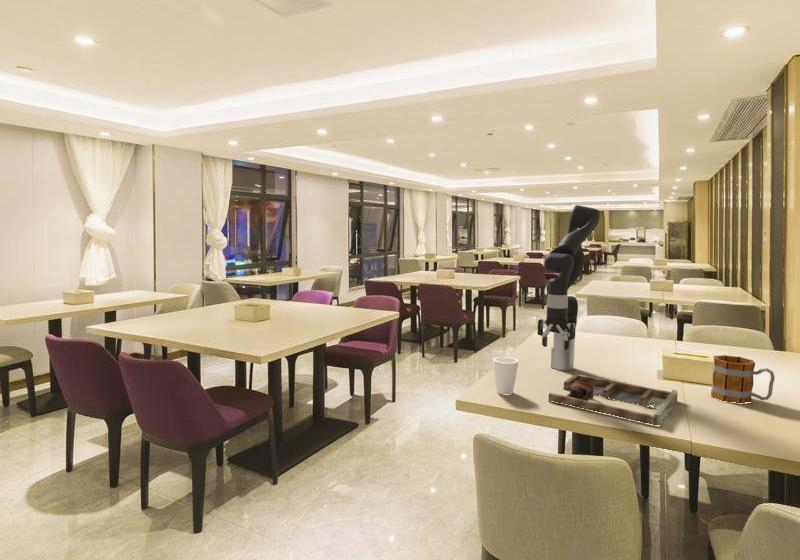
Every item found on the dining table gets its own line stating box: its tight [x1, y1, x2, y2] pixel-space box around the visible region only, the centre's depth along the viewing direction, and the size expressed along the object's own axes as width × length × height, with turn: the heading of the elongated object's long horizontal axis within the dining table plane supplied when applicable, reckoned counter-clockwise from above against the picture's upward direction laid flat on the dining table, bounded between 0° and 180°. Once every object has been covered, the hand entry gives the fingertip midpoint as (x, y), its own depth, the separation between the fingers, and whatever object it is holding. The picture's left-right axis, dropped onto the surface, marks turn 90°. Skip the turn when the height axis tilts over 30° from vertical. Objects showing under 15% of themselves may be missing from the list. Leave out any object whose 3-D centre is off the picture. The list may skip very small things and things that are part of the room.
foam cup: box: [492, 356, 519, 395], centre depth 189 cm, size 10×9×13 cm
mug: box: [710, 354, 776, 403], centre depth 182 cm, size 20×14×15 cm
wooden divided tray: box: [548, 374, 678, 426], centre depth 180 cm, size 38×31×4 cm
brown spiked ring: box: [566, 380, 594, 401], centre depth 181 cm, size 12×10×8 cm
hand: (555, 348), depth 186 cm, fingers open, 7 cm apart
